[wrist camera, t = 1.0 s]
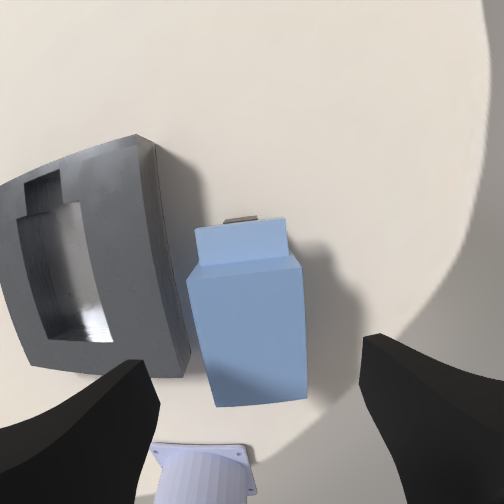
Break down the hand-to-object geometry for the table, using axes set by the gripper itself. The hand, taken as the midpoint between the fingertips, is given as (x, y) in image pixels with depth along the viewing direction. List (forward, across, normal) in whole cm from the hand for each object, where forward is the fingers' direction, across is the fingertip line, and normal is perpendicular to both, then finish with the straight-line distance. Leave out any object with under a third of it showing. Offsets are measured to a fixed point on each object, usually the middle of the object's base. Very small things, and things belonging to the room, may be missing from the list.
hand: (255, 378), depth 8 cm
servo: (+7, 0, 0) cm, 7 cm away
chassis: (+7, +10, -3) cm, 12 cm away
